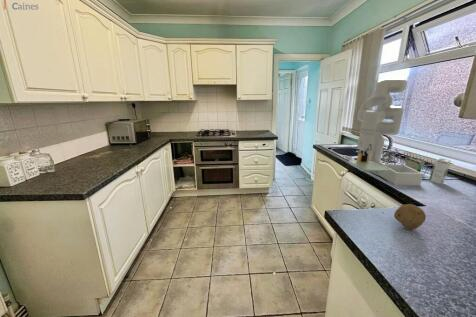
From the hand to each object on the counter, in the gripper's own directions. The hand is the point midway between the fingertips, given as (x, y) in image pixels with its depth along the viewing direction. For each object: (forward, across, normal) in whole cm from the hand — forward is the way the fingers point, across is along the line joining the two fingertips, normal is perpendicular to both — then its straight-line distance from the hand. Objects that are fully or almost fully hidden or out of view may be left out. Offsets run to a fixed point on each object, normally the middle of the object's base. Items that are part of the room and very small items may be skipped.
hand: (362, 160), depth 131 cm
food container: (+10, -8, +38) cm, 40 cm away
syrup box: (+10, +7, +40) cm, 42 cm away
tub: (+10, +6, +19) cm, 23 cm away
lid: (+3, +6, 0) cm, 7 cm away
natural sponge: (+11, +55, -8) cm, 57 cm away
